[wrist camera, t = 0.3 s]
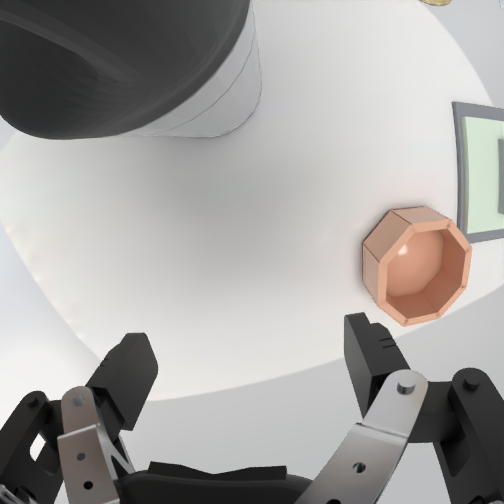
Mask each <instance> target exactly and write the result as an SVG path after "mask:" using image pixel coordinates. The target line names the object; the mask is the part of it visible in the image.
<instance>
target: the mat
mask: <svg viewBox="0 0 504 504" xmlns="http://www.w3.org/2000/svg"><path fill="white" fill-rule="evenodd" d="M452 105H453V112H454V121H455V130H456V142H457V158H458V219H457V228H458V229H459V230H460V231H461V233H462V234H463V235H464V237H465V238H466V240H467V241H468V242H469V244H470V243H476V242H482V241H488V240H494V239H500V238H504V229H497V230H491V231H484V232H477V233H469V234H467V233H465V232H463V226H464V205H465V167H464V146H463V133H462V123H461V117H474V118H483V119H490V120H497V121H504V109H500V108H495V107H489V106H483V105H476V104H469V103H461V102H452Z"/></svg>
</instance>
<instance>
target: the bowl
mask: <svg viewBox="0 0 504 504" xmlns="http://www.w3.org/2000/svg"><path fill="white" fill-rule="evenodd" d="M363 243H364V244H363V283H364V284H365V286H366V288H367V289H368V291H369V293H370V294H371V296H372V298H373V299H374V301H375V303H376V304H377V306H378V307H379V308H380V309H382V310H383V311H384V312H385V313H387V314H388V315H389V316H390V317H392V318H393V319H394V320H395V321H397V322H398V323H399V324H400V325H402V326H404V327H405V326H409V325H414V324H418V323H423V322H427V321H431V320H435V319H439V318H440V317H441V316H442V315H443V314H444V313H445V312H446V311H447V309H448V308H449V307H450V306H451V305H452V304H453V303H454V302H455V300H456V299H457V298H458V297H459V296H460V295H461V293H462V292H463V291H464V290H465V289H466V287H467V282H468V276H469V269H470V262H471V254H472V246H471V245H470V244H469V242H468V241H467V240H466V238H465V237H464V235H463V234H462V233H461V231H460V230H459V229H458V228H457V226H456V225H455V224H454V222H453V221H452V220H451V219H449V218H447V217H445V216H443V215H442V214H440V213H438V212H436V211H434V210H432V209H430V208H428V207H417V208H407V209H397V210H391V211H389V212H388V214H387V215H386V216H385V217H384V218H383V220H382V221H381V222H380V223H379V224H378V226H377V227H376V228H375V229H374V230H373V232H372V233H371V234H370V235H369V236H368V238H367V239H366V240H365V241H364V242H363Z"/></svg>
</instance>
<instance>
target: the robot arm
mask: <svg viewBox="0 0 504 504" xmlns="http://www.w3.org/2000/svg"><path fill="white" fill-rule="evenodd" d="M260 94H261V76H260V64H259V55H258V46H257V37H256V29H255V20H254V13H253V7H252V0H0V115H1V116H2V118H3V119H4V120H5V121H7V122H8V123H9V124H10V125H11V126H13V127H14V128H16V129H18V130H19V131H22V132H24V133H26V134H28V135H31V136H35V137H39V138H45V139H56V140H70V139H84V138H101V137H126V136H174V137H194V138H208V137H217V136H220V135H224V134H227V133H229V132H231V131H233V130H235V129H237V128H238V127H239V126H240V125H242V124H243V123H244V122H245V121H246V120H247V119H248V118H249V117H250V116H251V114H252V113H253V111H254V110H255V108H256V106H257V104H258V101H259V98H260ZM344 356H345V361H346V364H347V368H348V371H349V374H350V377H351V381H352V384H353V387H354V391H355V394H356V397H357V401H358V404H359V407H360V411H361V414H362V418H363V421H362V422H361V423H356V424H355V425H354V426H353V427H352V428H351V430H350V431H349V433H348V434H347V436H346V437H345V439H344V440H343V442H342V443H341V445H340V446H339V447H338V449H337V450H336V452H335V453H334V454H333V456H332V457H331V459H330V460H329V461H328V463H327V464H326V465H325V467H324V468H323V469H322V470H321V472H320V473H319V474H318V476H317V477H316V478H315V479H314V481H313V480H310V479H307V478H304V477H300V476H296V475H289V474H287V468H286V466H272V467H250V468H245V469H240V470H235V471H231V472H225V473H219V474H210V473H206V472H203V471H199V470H196V469H192V468H189V467H186V466H183V465H177V464H167V463H160V462H152V461H151V462H150V465H149V468H148V470H143V471H138V472H136V471H135V469H134V467H133V465H132V462H131V460H130V458H129V455H128V453H127V450H126V448H125V445H124V443H123V440H122V438H121V436H120V435H119V432H120V430H121V429H122V430H129V431H132V430H133V428H134V426H135V423H136V421H137V419H138V417H139V414H140V412H141V410H142V408H143V405H144V403H145V401H146V399H147V397H148V394H149V392H150V390H151V388H152V385H153V383H154V381H155V379H156V377H157V374H158V364H157V360H156V358H155V355H154V353H153V350H152V348H151V345H150V342H149V340H148V337H147V335H146V334H145V333H127V334H126V335H125V337H124V338H123V339H122V341H121V342H120V344H118V345H116V346H115V347H114V348H113V349H111V350H110V351H109V352H108V354H107V355H106V356H105V358H104V360H103V361H102V362H101V364H100V367H99V366H98V368H97V369H96V371H95V372H94V374H93V375H92V377H91V378H90V379H89V381H88V383H87V384H86V385H85V386H78V387H74V388H72V389H70V390H69V391H67V392H66V393H65V394H64V396H63V397H62V399H61V400H53V401H49V400H48V398H47V396H46V395H45V393H44V392H42V391H33V392H31V393H29V394H27V395H26V396H25V397H24V398H23V399H22V400H21V401H20V403H19V404H18V406H17V407H16V408H15V410H14V411H13V413H12V414H11V416H10V417H9V418H8V420H7V421H6V423H5V424H4V426H3V427H2V429H1V430H0V504H54V502H55V499H56V497H57V494H58V492H59V490H60V487H61V485H62V483H63V480H64V483H65V487H66V492H67V497H68V500H69V504H377V502H378V500H379V499H380V497H381V495H382V493H383V491H384V490H385V488H386V486H387V484H388V482H389V481H390V478H391V477H392V475H393V473H394V471H395V469H396V467H397V465H398V463H399V461H400V459H401V457H402V455H403V453H404V451H405V449H406V446H407V444H408V443H429V442H433V445H434V448H435V451H436V454H437V457H438V460H439V464H440V466H441V469H442V473H443V476H444V480H445V483H446V487H447V490H448V494H449V497H450V501H451V504H504V400H503V399H502V397H501V395H500V394H499V392H498V391H497V389H496V387H495V386H494V384H493V383H492V381H491V380H490V378H489V377H488V376H487V374H486V373H484V372H483V371H481V370H479V369H476V368H465V369H461V370H459V371H458V372H457V373H456V374H455V375H454V377H453V379H452V381H449V382H430V381H427V379H426V378H425V377H424V376H423V375H422V374H421V373H419V372H417V371H414V370H411V369H410V367H409V365H408V364H407V362H406V360H405V358H404V357H403V355H402V353H401V351H400V349H399V348H398V346H396V342H395V341H394V339H393V338H392V336H391V334H390V332H389V330H388V329H387V328H386V327H384V326H383V325H381V324H380V323H373V324H370V322H369V320H368V318H367V317H366V315H365V313H364V312H361V313H355V314H349V315H345V317H344ZM38 433H39V434H40V435H41V436H42V438H43V439H44V440H45V441H46V443H45V445H44V446H43V448H42V450H41V452H40V454H39V456H38V458H37V459H36V461H34V460H33V459H32V457H31V455H30V447H31V445H32V443H33V442H34V440H35V438H36V436H37V435H38Z"/></svg>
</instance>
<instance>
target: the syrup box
mask: <svg viewBox="0 0 504 504" xmlns="http://www.w3.org/2000/svg"><path fill="white" fill-rule="evenodd" d="M499 1H500V6H501V9H502V10H503V11H504V0H499Z"/></svg>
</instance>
